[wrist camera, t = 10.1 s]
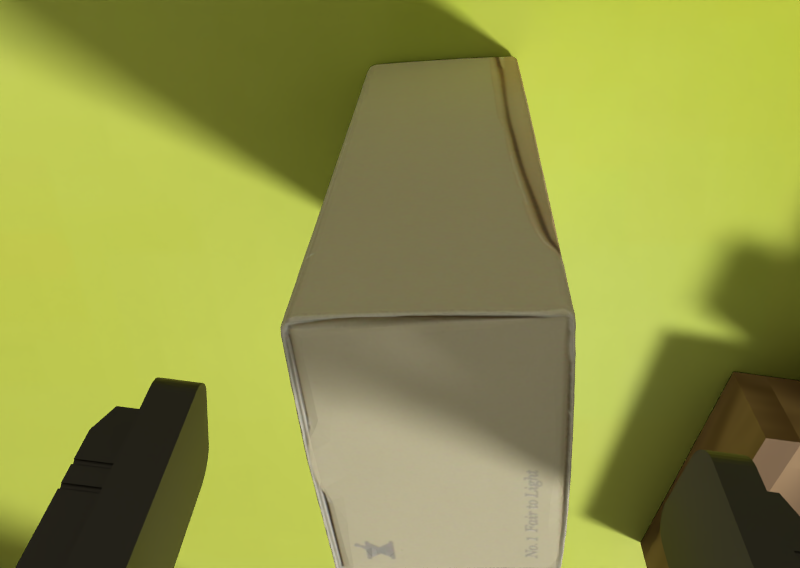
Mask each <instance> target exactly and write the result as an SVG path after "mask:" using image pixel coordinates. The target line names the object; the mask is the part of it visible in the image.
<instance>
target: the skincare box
mask: <svg viewBox="0 0 800 568" xmlns="http://www.w3.org/2000/svg"><path fill="white" fill-rule="evenodd" d="M575 329H576V323H575V313H574V309H573V305H572V301H571V296H570V292H569V287H568V283H567V278H566V273H565V269H564V264H563V261H562V257H561V252H560V248H559V243H558V238H557V234H556V229H555V224H554V220H553V216H552V211H551V207H550V202H549V198H548V193H547V189H546V184H545V180H544V175H543V171H542V166H541V162H540V158H539V153H538V148H537V143H536V139H535V134H534V130H533V126H532V122H531V117H530V113H529V108H528V104H527V99H526V95H525V91H524V87H523V83H522V78H521V74H520V71H519V66H518V62H517V59H516V58H515V57H513V56H510V57H487V58H464V59H449V60H433V61H418V62H404V63H390V64H376V65H374V66H371V67H370V68H369V70H368V72H367V75H366V78H365V81H364V84H363V87H362V90H361V93H360V96H359V99H358V102H357V105H356V108H355V111H354V114H353V117H352V119H351V122H350V125H349V128H348V131H347V134H346V137H345V140H344V143H343V146H342V149H341V152H340V154H339V157H338V160H337V163H336V166H335V169H334V172H333V175H332V178H331V181H330V184H329V187H328V190H327V193H326V196H325V199H324V202H323V205H322V208H321V211H320V213H319V216H318V219H317V222H316V225H315V228H314V231H313V234H312V237H311V240H310V242H309V245H308V248H307V251H306V254H305V257H304V260H303V262H302V265H301V268H300V271H299V274H298V277H297V281H296V284H295V287H294V289H293V292H292V295H291V298H290V301H289V304H288V307H287V309H286V312H285V315H284V318H283V321H282V324H281V337H282V342H283V347H284V352H285V357H286V362H287V367H288V372H289V377H290V382H291V387H292V391H293V395H294V399H295V404H296V410H297V414H298V419H299V424H300V428H301V433H302V437H303V442H304V447H305V452H306V457H307V460H308V464H309V468H310V472H311V475H312V479H313V483H314V486H315V490H316V495H317V499H318V503H319V506H320V509H321V513H322V517H323V521H324V525H325V529H326V533H327V536H328V539H329V544H330V548H331V550H332V554H333V559H334V563H335V567H336V568H561V564H562V558H563V552H564V542H565V536H566V527H567V516H568V505H569V492H570V478H571V458H572V441H573V415H574V386H575V355H576V352H575Z"/></svg>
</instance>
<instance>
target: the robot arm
mask: <svg viewBox="0 0 800 568" xmlns="http://www.w3.org/2000/svg"><path fill="white" fill-rule="evenodd" d="M208 450H209V441H208V418H207V396H206V386H205V384H204V383H197V382H190V381H182V380H174V379H166V378H156V379H155V380H154V381H153V383H152V384H151V386H150V388H149V390H148V392H147V395H146V397H145V399H144V401H143V403H142V405H141V407H140V409H134V408H127V407H119V406H116V407H115V408H114V409H113V410H112V411H111V412H109V413H108V414H107V415H106V416H105V417H104V418H103V419H101V420H100V421H99V422H98V423H97V424H96V425H94V426H93V427H92V428H91V429H90V430H89V432H88V434H87V436H86V438H85V439H84V441H83V443H82V445H81V447H80V449H79V451H78V452H77V454H76V456H75V458H74V463H73V464H71V465H70V467H69V469H68V471H67V473H66V475H65V477H64V478H63V480H62V482H61V487H60V489H58V490H57V491H56V493H55V495H54V497H53V499H52V501H51V503H50V504H49V506H48V508H47V510H46V512H45V514H44V516H43V517H42V519H41V521H40V523H39V525H38V527H37V529H36V530H35V532H34V534H33V536H32V538H31V540H30V542H29V543H28V545H27V547H26V549H25V551H24V553H23V555H22V556H21V558H20V560H19V562H18V564H17V566H16V568H174V566H175V563H176V560H177V557H178V554H179V551H180V548H181V545H182V542H183V539H184V536H185V533H186V530H187V527H188V524H189V521H190V518H191V516H192V513H193V510H194V507H195V504H196V501H197V498H198V495H199V492H200V489H201V486H202V483H203V479H204V476H205V471H206V466H207V460H208ZM660 532H661V541H662V545H663V549H664V552H665V556H666V560H667V563H668V567H669V568H800V516H799V515H798V514H797V512H796V511H795V510H794V509H793V508H792V507H791V506H790V505H789V503H788V502H787V501H786V500H785V499H784V498H783V497H782V495H781V494H780V493H777V492H769V491H767V490H766V487H765V485H764V483H763V481H762V478H761V476H760V474H759V472H758V469H757V467H756V465H755V463H754V462H753V460H752V459H751V458H750V457H748V456H746V455H740V454H732V453H725V452H717V451H709V450H697V451H696V452H695V453H694V454H693V455H692V457H691V459H690V460H689V462H688V464H687V466H686V467H685V469H684V471H683V473H682V475H681V476H680V478H679V480H678V482H677V483H676V485H675V487H674V489H673V490H672V492H671V494H670V496H669V498H668V499H667V501H666V503H665V505H664V507H663V510H662V515H661V523H660Z"/></svg>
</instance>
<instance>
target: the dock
mask: <svg viewBox="0 0 800 568" xmlns="http://www.w3.org/2000/svg"><path fill="white" fill-rule="evenodd" d="M697 450H709V451H717V452H725V453H732V454H740V455H746V456H748V457H750V458H751V459H752V460H753V462H754V463H755V465H756V467H757V469H758V472H759V474H760V476H761V478H762V481H763V483H764V485H765V487H766V490H767V491H769V492H777V493H780V494H781V495H782V497H783V498H784V499H785V500H786V501H787V502H788V503H789V505H790V506H791V507H792V508H793V509H794V510H795V511H796V512H797V514H798V515H799V516H800V381H798V380H791V379H783V378H776V377H768V376H761V375H753V374H746V373H738V372H733V374H732V375H731V377H730V379H729V381H728V383H727V385H726V387H725V388H724V390H723V392H722V394H721V396H720V398H719V399H718V401H717V403H716V405H715V407H714V409H713V410H712V412H711V414H710V416H709V418H708V420H707V422H706V423H705V425H704V427H703V429H702V431H701V433H700V434H699V436H698V438H697V440H696V442H695V444H694V446H693V447H692V449H691V451H690V453H689V455H688V457H687V458H686V460H685V462H684V464H683V466H682V468H681V469H680V471H679V473H678V475H677V477H676V479H675V481H674V482H673V484H672V486H671V488H670V490H669V492H668V493H667V495H666V497H665V499H664V501H663V503H662V505H661V506H660V508H659V510H658V512H657V514H656V516H655V517H654V519H653V521H652V523H651V525H650V527H649V528H648V530H647V532H646V534H645V536H644V538H643V540H642V541H641V547H642V551H643V554H644V558H645V562H646V566H647V568H669V567H668V563H667V560H666V556H665V552H664V549H663V545H662V541H661V532H660V523H661V515H662V510H663V507H664V505H665V503H666V501H667V499H668V498H669V496H670V494H671V492H672V490H673V489H674V487H675V485H676V483H677V482H678V480H679V478H680V476H681V475H682V473H683V471H684V469H685V467H686V466H687V464H688V462H689V460H690V459H691V457H692V455H693V454H694V453H695V452H696V451H697Z"/></svg>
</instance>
